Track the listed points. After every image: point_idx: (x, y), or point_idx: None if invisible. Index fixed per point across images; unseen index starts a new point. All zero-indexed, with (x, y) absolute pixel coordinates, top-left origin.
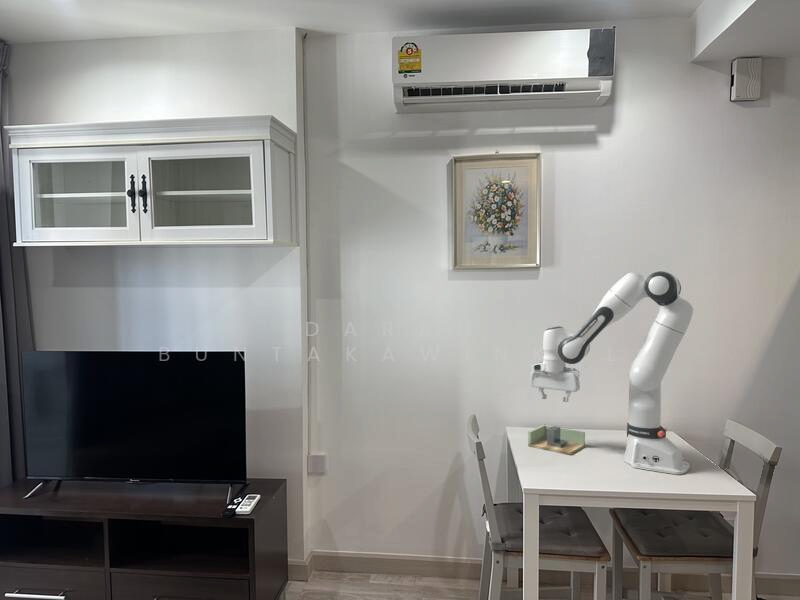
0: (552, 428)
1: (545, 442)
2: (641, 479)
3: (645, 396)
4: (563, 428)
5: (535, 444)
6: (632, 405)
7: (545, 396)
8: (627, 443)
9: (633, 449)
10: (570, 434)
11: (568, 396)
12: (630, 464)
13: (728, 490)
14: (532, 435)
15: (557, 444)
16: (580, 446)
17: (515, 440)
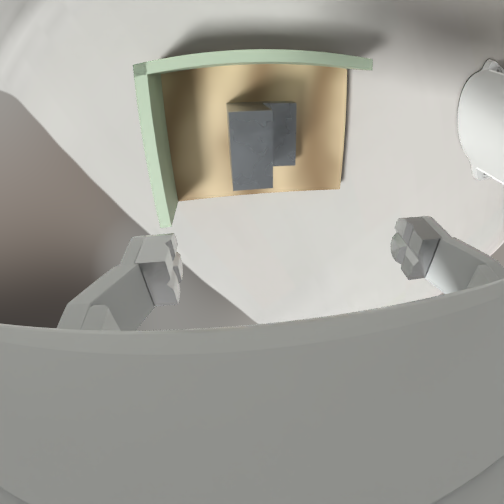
0: (248, 160)
1: (207, 139)
2: (475, 230)
3: None
4: (258, 53)
5: (193, 190)
6: None
7: (171, 267)
8: (498, 151)
9: (501, 181)
10: (298, 63)
11: (457, 260)
12: (470, 162)
13: None
14: (170, 200)
15: (279, 164)
16: (344, 95)
17: (92, 172)
